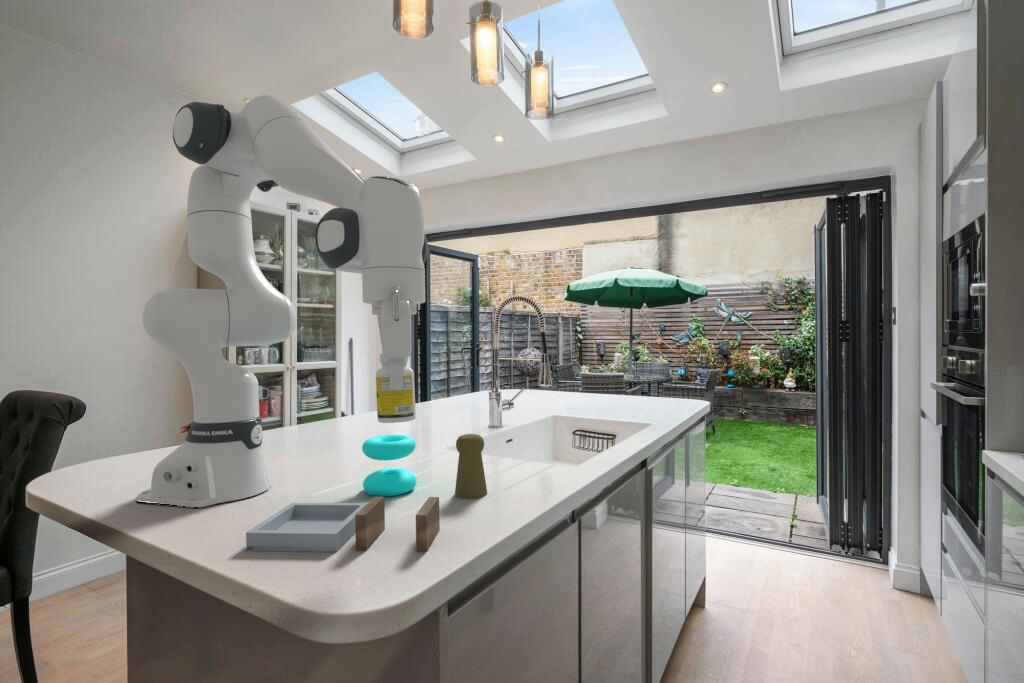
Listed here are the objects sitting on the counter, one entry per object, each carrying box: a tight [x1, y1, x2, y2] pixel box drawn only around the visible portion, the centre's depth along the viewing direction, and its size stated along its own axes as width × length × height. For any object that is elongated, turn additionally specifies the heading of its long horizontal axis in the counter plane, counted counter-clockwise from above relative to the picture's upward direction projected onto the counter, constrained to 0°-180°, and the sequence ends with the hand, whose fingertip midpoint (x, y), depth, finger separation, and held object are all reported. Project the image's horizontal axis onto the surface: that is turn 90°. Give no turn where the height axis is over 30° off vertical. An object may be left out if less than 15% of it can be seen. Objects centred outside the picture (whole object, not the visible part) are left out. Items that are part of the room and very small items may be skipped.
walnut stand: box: [355, 496, 441, 553], centre depth 76 cm, size 10×8×5 cm
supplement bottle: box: [375, 353, 417, 424], centre depth 76 cm, size 5×5×10 cm
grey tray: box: [245, 502, 368, 553], centre depth 79 cm, size 13×13×2 cm
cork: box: [454, 433, 488, 500], centre depth 98 cm, size 6×6×11 cm
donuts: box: [361, 434, 417, 497], centre depth 101 cm, size 10×10×10 cm
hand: (395, 386), depth 76 cm, fingers closed on supplement bottle, 5 cm apart
